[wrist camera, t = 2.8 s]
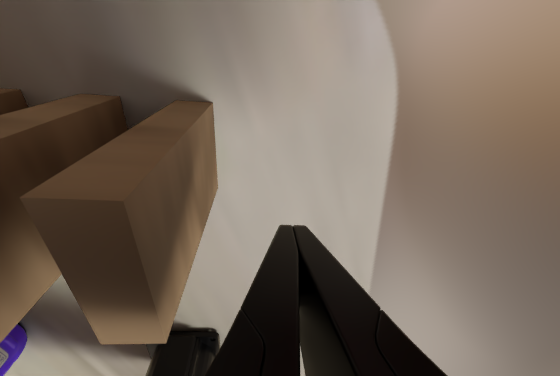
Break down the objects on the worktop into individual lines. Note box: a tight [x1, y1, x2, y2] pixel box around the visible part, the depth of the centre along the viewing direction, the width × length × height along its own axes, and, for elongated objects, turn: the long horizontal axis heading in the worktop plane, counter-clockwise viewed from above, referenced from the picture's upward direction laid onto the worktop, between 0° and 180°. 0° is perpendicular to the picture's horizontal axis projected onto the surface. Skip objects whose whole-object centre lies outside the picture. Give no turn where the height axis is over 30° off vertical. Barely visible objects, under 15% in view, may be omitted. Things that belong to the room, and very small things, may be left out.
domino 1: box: [0, 94, 128, 343], centre depth 9 cm, size 5×2×9 cm, turn 176°
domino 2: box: [19, 100, 218, 344], centre depth 10 cm, size 5×2×9 cm, turn 176°
